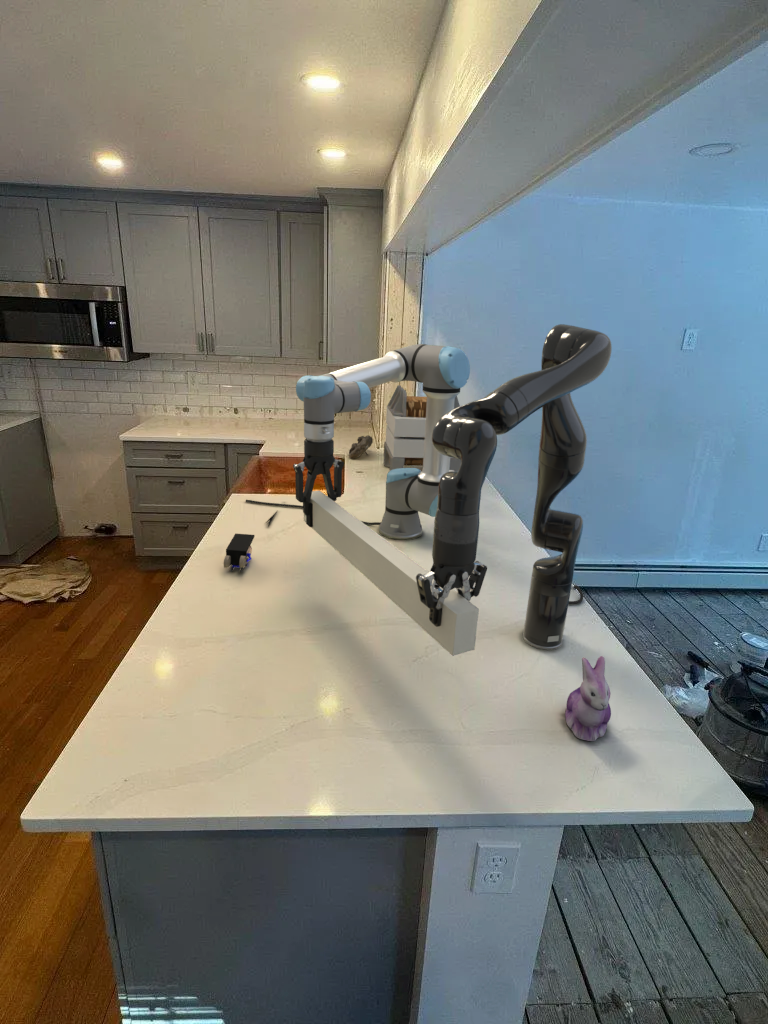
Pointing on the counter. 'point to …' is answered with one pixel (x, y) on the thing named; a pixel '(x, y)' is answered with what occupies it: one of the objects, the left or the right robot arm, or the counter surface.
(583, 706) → the figurine
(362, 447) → the fossil
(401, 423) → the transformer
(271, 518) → the feather
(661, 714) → the counter surface
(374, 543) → the post
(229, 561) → the black wheeled rover
